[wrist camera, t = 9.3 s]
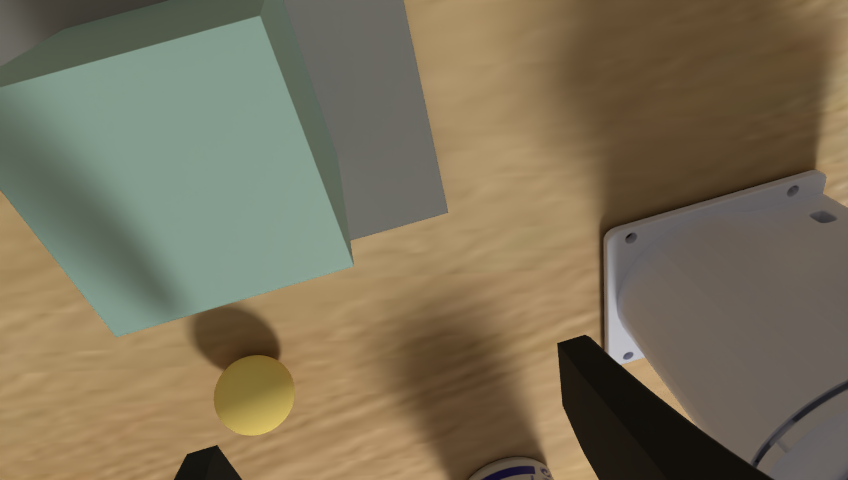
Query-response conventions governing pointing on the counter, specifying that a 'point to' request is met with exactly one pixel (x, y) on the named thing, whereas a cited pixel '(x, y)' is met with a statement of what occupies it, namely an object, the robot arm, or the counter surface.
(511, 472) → the energy drink
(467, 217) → the counter surface
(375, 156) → the charcoal mat
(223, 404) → the yellow ball
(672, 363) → the robot arm
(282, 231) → the teal cover
